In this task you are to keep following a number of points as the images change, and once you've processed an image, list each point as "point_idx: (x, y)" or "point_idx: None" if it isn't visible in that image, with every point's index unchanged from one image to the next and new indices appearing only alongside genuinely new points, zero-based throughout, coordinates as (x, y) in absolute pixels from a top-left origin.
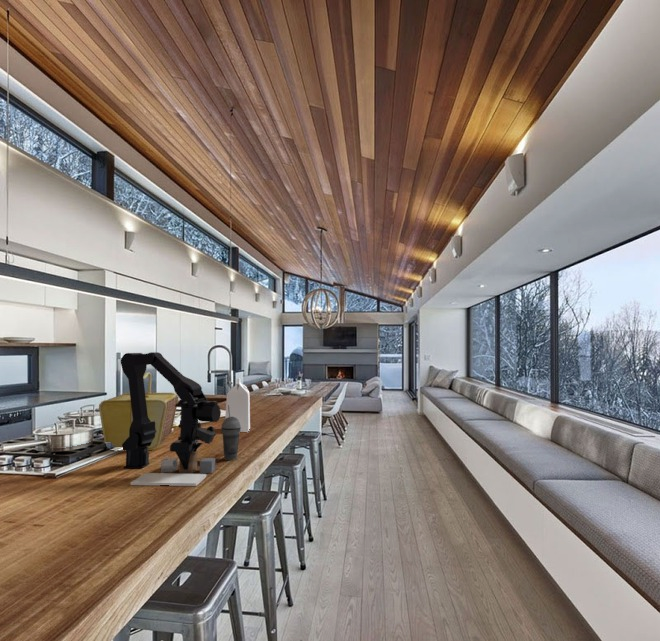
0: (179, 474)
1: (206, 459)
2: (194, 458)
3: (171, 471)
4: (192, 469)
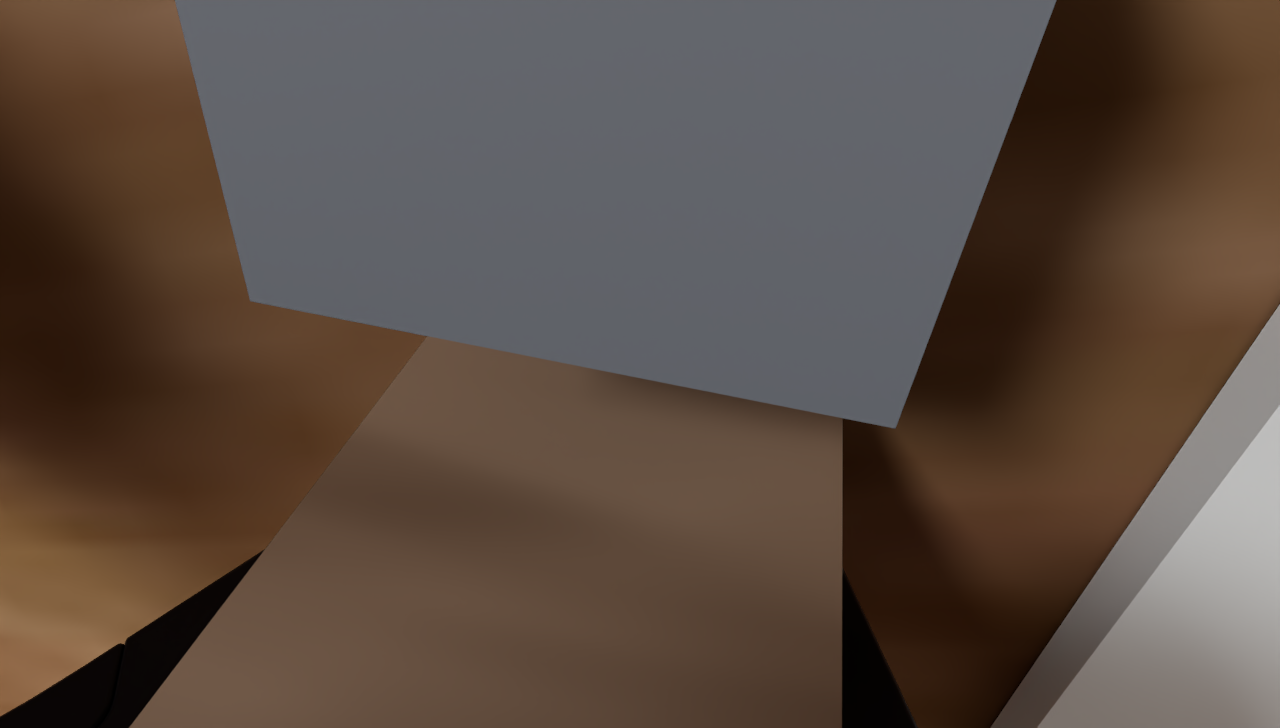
0: (1192, 657)
1: (512, 101)
2: (623, 673)
3: None
4: (838, 432)
